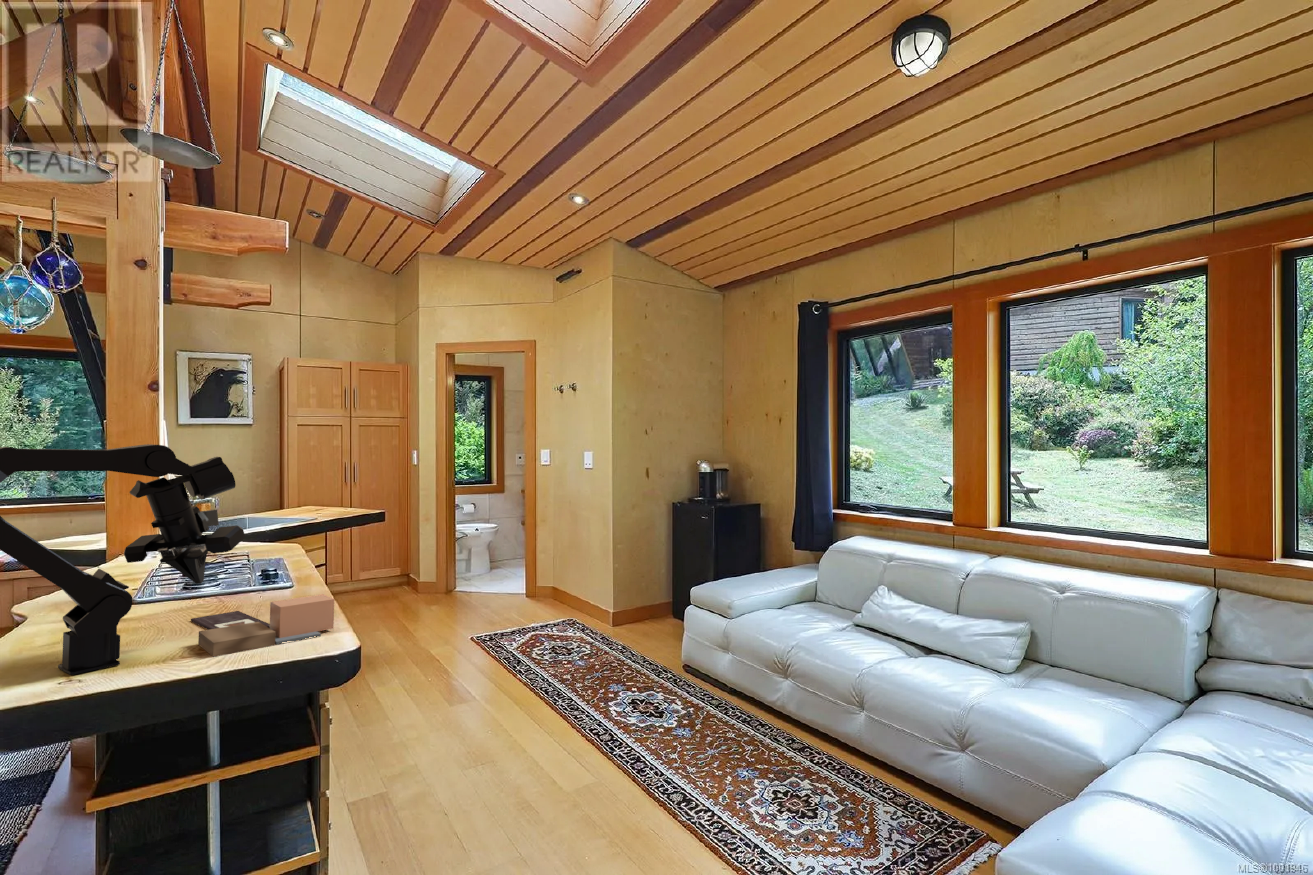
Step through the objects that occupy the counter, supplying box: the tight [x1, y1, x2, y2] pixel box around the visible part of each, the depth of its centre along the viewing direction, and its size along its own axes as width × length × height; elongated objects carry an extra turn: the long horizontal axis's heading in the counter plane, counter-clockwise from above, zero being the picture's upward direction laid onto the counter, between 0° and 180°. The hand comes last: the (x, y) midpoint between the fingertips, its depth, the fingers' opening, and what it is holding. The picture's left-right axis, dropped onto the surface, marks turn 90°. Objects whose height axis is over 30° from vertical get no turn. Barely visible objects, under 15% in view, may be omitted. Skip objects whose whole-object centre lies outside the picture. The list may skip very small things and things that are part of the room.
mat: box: [275, 631, 322, 645], centre depth 129 cm, size 8×10×1 cm
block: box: [269, 593, 335, 638], centre depth 130 cm, size 6×6×10 cm
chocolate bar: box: [190, 610, 270, 630], centre depth 135 cm, size 9×1×18 cm
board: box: [197, 622, 276, 657], centre depth 122 cm, size 10×10×2 cm
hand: (200, 582), depth 123 cm, fingers closed
